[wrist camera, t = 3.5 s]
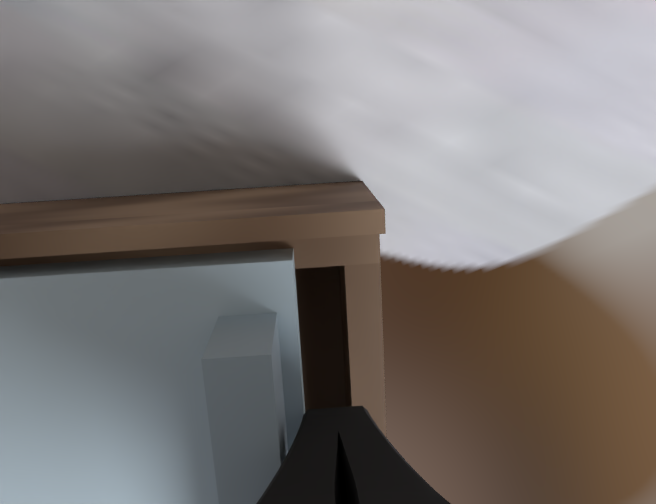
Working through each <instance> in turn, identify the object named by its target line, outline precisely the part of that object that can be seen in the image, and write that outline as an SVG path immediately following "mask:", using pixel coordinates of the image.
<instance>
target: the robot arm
mask: <svg viewBox="0 0 656 504" xmlns="http://www.w3.org/2000/svg"><path fill="white" fill-rule="evenodd" d="M256 504H450V503H449V502H448V501H447V500H445V499H444V498H443V497H442V496H441V495H440V494H438V493H437V492H436V491H435V490H434V489H433V488H432V487H431V486H430V485H429V484H428V483H427V482H426V481H425V480H424V479H423V478H422V477H421V476H420V475H419V474H418V473H417V472H416V471H415V470H414V469H413V468H412V467H411V466H410V465H409V464H408V463H407V462H406V461H405V459H404V458H403V457H402V456H401V455H400V454H399V452H398V451H397V450H396V449H395V448H394V447H393V445H392V444H391V443H390V442H389V441H388V439H387V438H386V437H385V435H384V434H383V433H382V431H381V430H380V429H379V427H378V426H377V425H376V423H375V422H374V420H373V419H372V417H371V416H370V414H369V412H368V410H367V409H365V408H364V407H363V406H349V407H335V408H321V409H308V410H307V411H306V412H305V413H304V414H303V418H302V422H301V425H300V427H299V430H298V432H297V435H296V437H295V439H294V441H293V443H292V446H291V447H290V449H289V451H288V453H287V455H286V457H285V459H284V461H283V463H282V464H281V466H280V468H279V470H278V471H277V473H276V474H275V476H274V478H273V479H272V481H271V482H270V484H269V485H268V487H267V489H266V490H265V492H264V493H263V495H262V496H261V498H260V499H259V500H258V502H257V503H256Z"/></svg>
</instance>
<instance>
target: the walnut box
mask: <svg viewBox="0 0 656 504" xmlns="http://www.w3.org/2000/svg"><path fill="white" fill-rule="evenodd" d="M379 234H385V209H384V208H383V206H382V205H381V204H380V203H379V201H378V200H377V199H376V198H375V196H374V195H373V194H372V193H371V191H370V190H369V189H368V188H367V186H366V185H365V184H364V183H363V181H351V182H336V183H320V184H305V185H289V186H274V187H258V188H243V189H227V190H211V191H196V192H180V193H165V194H149V195H134V196H118V197H103V198H87V199H72V200H56V201H40V202H25V203H9V204H0V266H16V265H32V264H48V263H64V262H80V261H96V260H112V259H128V258H144V257H160V256H176V255H192V254H208V253H224V252H240V251H256V250H272V249H288V248H293V249H294V263H295V277H296V291H297V305H298V319H299V332H300V346H301V360H302V374H303V388H304V402H305V412H306V411H307V410H308V409H321V408H335V407H349V406H363V407H364V408H365V409H367V410H368V412H369V414H370V416H371V417H372V419H373V420H374V422H375V423H376V425H377V426H378V427H379V429H380V430H381V431H382V433H383V434H384V435H385V437H386V438H387V435H386V409H385V379H384V351H383V324H382V295H381V267H380V240H379Z"/></svg>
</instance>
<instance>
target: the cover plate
mask: <svg viewBox="0 0 656 504" xmlns="http://www.w3.org/2000/svg"><path fill="white" fill-rule="evenodd" d="M304 413H305V402H304V388H303V374H302V360H301V346H300V332H299V319H298V305H297V291H296V277H295V263H294V249H293V248H288V249H272V250H256V251H240V252H224V253H208V254H192V255H176V256H160V257H144V258H128V259H112V260H96V261H80V262H64V263H48V264H32V265H16V266H0V504H256V503H257V502H258V500H259V499H260V498H261V496H262V495H263V493H264V492H265V490H266V489H267V487H268V485H269V484H270V482H271V481H272V479H273V478H274V476H275V474H276V473H277V471H278V470H279V468H280V466H281V464H282V463H283V461H284V459H285V457H286V455H287V453H288V451H289V449H290V447H291V446H292V443H293V441H294V439H295V437H296V435H297V432H298V430H299V427H300V425H301V422H302V418H303V414H304Z"/></svg>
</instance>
